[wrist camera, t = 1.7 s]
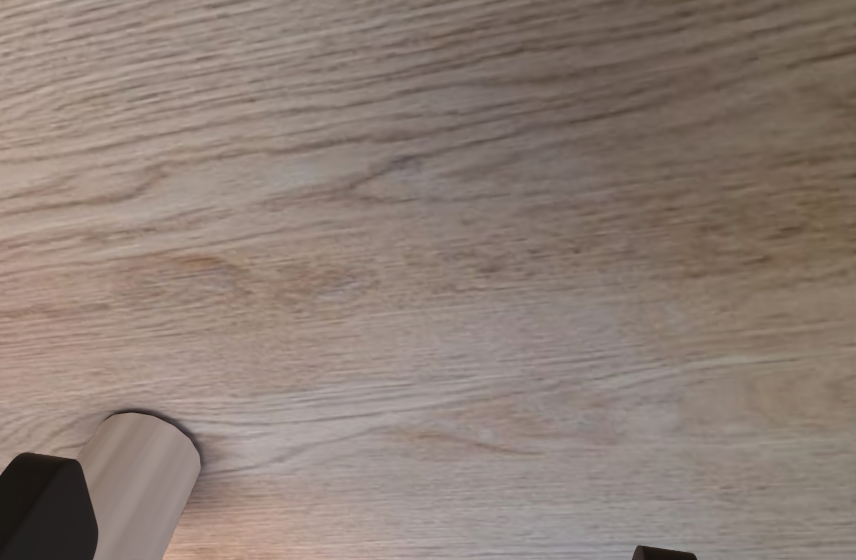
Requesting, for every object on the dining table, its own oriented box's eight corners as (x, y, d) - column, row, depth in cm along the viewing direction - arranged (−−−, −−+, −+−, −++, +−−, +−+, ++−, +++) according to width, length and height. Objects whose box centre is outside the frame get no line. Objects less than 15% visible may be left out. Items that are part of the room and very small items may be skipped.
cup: (85, 377, 44) (-92, 610, 32) (228, 421, 44) (105, 668, 32) (81, 471, 48) (-76, 705, 36) (210, 511, 48) (96, 756, 37)
